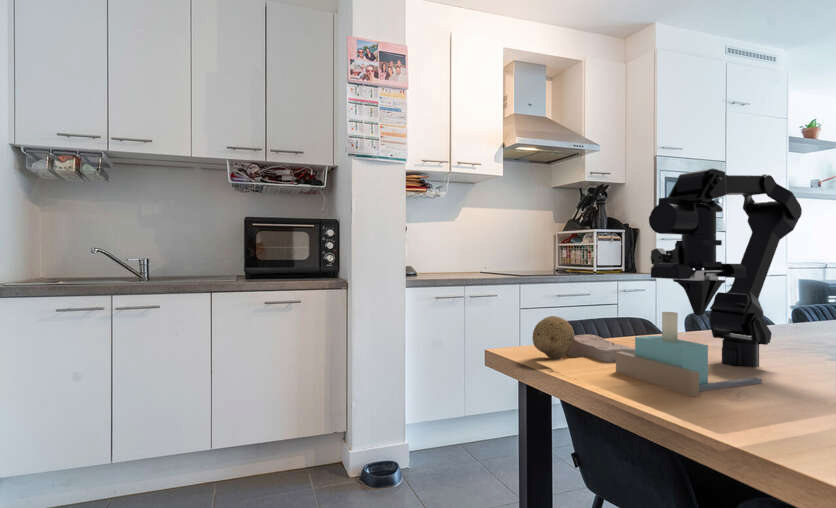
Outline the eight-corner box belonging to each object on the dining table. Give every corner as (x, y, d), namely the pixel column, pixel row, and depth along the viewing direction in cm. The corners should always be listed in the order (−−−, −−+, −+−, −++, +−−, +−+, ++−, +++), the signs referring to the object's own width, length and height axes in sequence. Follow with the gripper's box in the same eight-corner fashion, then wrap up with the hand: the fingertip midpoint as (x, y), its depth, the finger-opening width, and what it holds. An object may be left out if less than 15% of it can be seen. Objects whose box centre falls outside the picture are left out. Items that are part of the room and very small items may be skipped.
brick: (640, 368, 94) (640, 346, 94) (606, 371, 92) (606, 348, 92) (592, 352, 110) (592, 333, 110) (562, 354, 108) (562, 335, 108)
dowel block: (658, 372, 85) (658, 308, 85) (707, 386, 75) (707, 315, 75) (635, 374, 83) (635, 310, 83) (683, 390, 73) (682, 317, 73)
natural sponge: (554, 367, 94) (554, 320, 95) (523, 358, 102) (523, 315, 102) (582, 361, 99) (582, 317, 99) (551, 354, 107) (551, 312, 107)
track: (689, 371, 91) (689, 345, 91) (774, 394, 76) (774, 363, 76) (615, 379, 85) (615, 352, 85) (691, 406, 70) (691, 372, 70)
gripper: (695, 237, 97) (695, 309, 97) (628, 236, 91) (628, 312, 91) (748, 235, 87) (748, 315, 87) (676, 233, 81) (676, 319, 81)
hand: (698, 315), depth 87 cm, fingers closed
